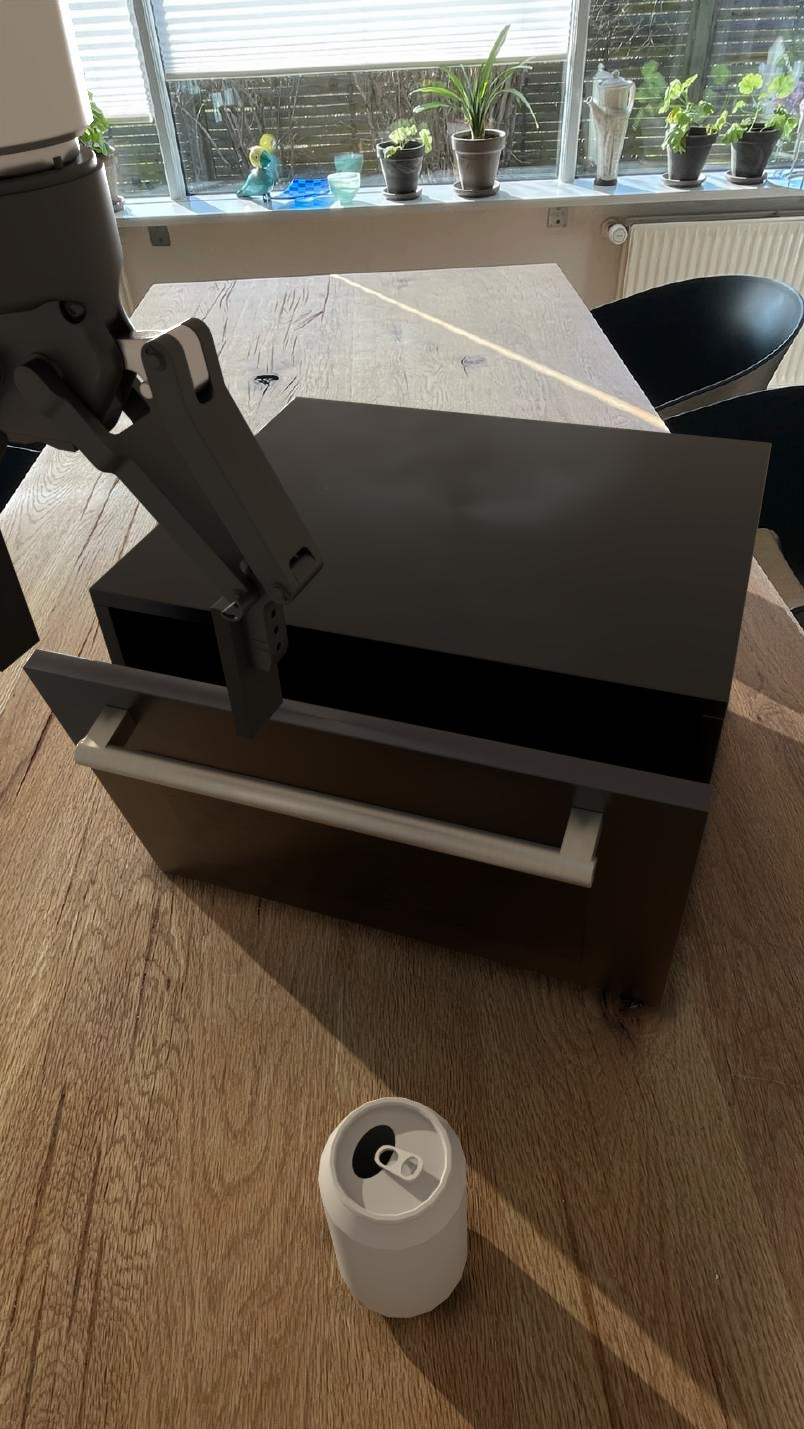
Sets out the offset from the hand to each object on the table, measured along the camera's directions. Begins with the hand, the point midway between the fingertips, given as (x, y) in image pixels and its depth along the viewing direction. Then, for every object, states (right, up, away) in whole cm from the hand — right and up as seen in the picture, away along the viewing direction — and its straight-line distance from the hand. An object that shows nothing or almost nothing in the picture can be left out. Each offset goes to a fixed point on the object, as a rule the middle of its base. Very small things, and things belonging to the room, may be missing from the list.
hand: (131, 685), depth 43 cm
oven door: (+11, -19, +27) cm, 35 cm away
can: (+12, -32, +11) cm, 36 cm away
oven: (+18, -7, +40) cm, 44 cm away
